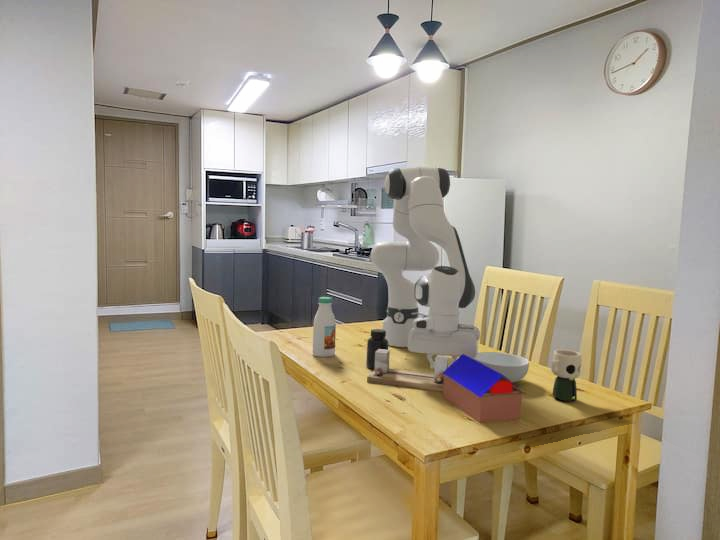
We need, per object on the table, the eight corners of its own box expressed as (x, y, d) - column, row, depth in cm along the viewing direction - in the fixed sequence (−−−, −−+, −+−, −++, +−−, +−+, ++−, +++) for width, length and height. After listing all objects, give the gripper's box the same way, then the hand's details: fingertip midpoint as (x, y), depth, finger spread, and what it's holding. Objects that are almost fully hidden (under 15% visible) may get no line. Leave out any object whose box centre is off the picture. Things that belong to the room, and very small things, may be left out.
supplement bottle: (385, 370, 168) (387, 333, 166) (364, 369, 169) (365, 331, 168) (388, 365, 174) (390, 329, 173) (368, 363, 176) (369, 327, 174)
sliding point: (436, 375, 159) (437, 355, 158) (448, 376, 158) (449, 356, 157) (432, 381, 152) (433, 360, 152) (444, 382, 151) (445, 362, 151)
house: (479, 393, 150) (482, 352, 148) (522, 420, 131) (525, 373, 129) (441, 396, 146) (443, 354, 145) (478, 424, 127) (481, 376, 126)
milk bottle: (315, 358, 180) (317, 299, 178) (310, 352, 187) (311, 296, 185) (337, 357, 182) (339, 299, 180) (331, 351, 189) (333, 295, 187)
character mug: (560, 405, 141) (563, 357, 140) (539, 397, 147) (543, 351, 146) (588, 400, 146) (592, 354, 145) (568, 392, 152) (571, 348, 151)
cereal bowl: (539, 385, 158) (541, 362, 157) (498, 393, 150) (499, 368, 149) (498, 370, 173) (500, 348, 172) (458, 376, 165) (460, 353, 164)
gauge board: (377, 371, 166) (378, 347, 166) (464, 382, 158) (466, 356, 158) (367, 381, 156) (368, 355, 155) (460, 393, 148) (461, 366, 147)
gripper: (481, 324, 154) (478, 370, 156) (411, 318, 161) (409, 363, 162) (479, 327, 148) (476, 376, 150) (407, 321, 155) (405, 368, 156)
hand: (441, 369), depth 156 cm, fingers closed on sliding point, 3 cm apart
